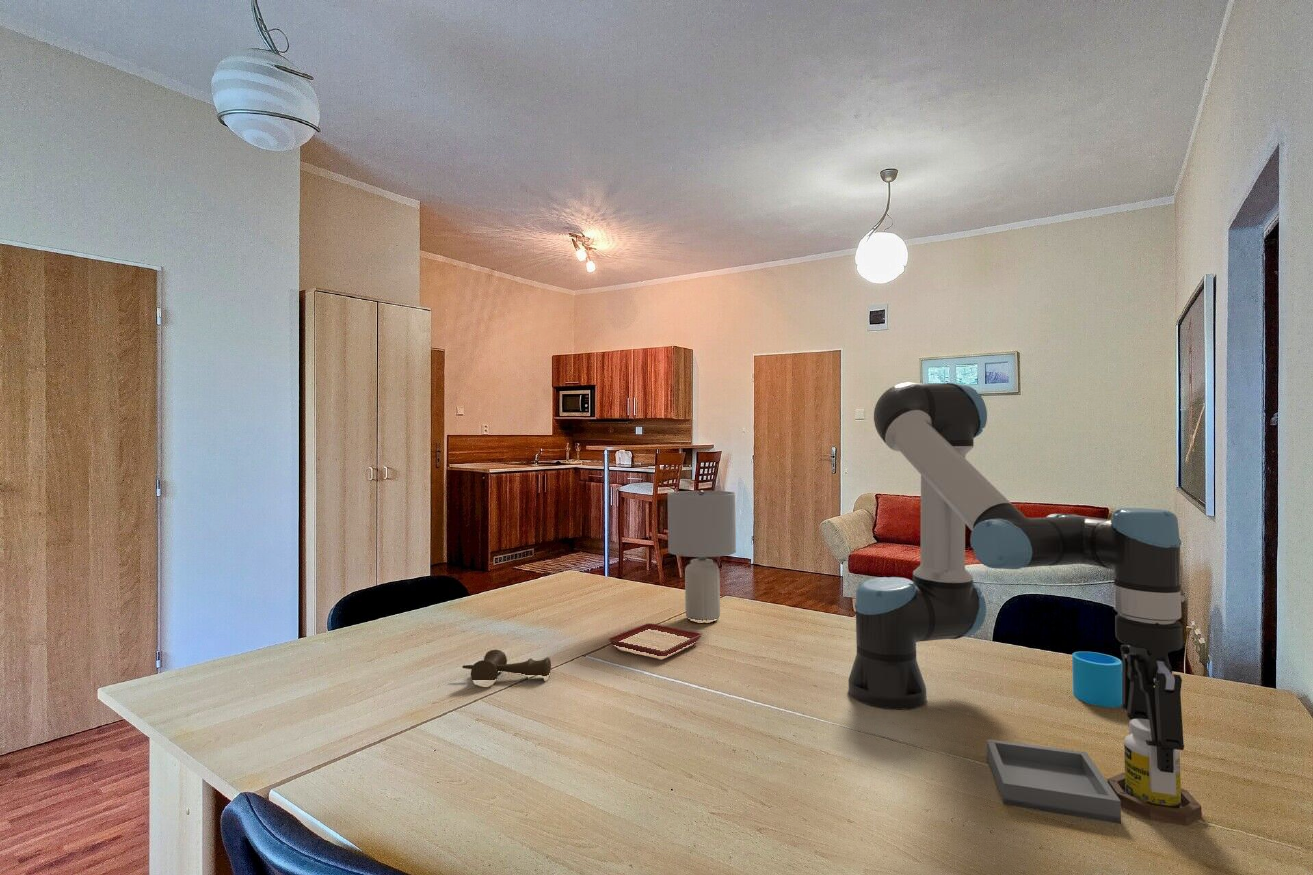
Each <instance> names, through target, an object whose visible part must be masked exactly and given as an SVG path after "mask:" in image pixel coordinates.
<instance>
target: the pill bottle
mask: <svg viewBox="0 0 1313 875" xmlns="http://www.w3.org/2000/svg"><path fill="white" fill-rule="evenodd" d="M1129 721H1130V730H1131V732H1132V734H1130V735H1129V734H1128V735H1127V736H1125V738H1124V745H1123V746H1124V773H1125V789H1124V790H1125V791H1124V792H1125V793H1126V794H1128V795H1130V796H1132V797H1135V798H1137V799H1139V800H1141V801H1144V802H1146V803H1148V804H1150V805H1156V806H1163V807H1169V808H1176V809H1180V808H1182V804H1181V788H1182V787H1181V780H1182V779H1181V755H1180V750H1177V749H1175V767H1176V795H1170V794H1164V793H1157V792H1152V791H1151V790H1150V775H1149V745H1147V743H1146V740H1150V741H1152V737H1151V730H1150V723H1149V720H1148V719H1132V720H1131V719H1130V720H1129Z"/></svg>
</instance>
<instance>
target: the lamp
mask: <svg viewBox="0 0 1313 875" xmlns="http://www.w3.org/2000/svg"><path fill="white" fill-rule="evenodd" d="M736 529H737V528H736V493H735V492H734V491H728V490H726V491H725V490H703V489H702V490H685V491H684V490H683V491H681V490H680V491H672V492H668V493H667V546H668V548H667V550H668V551H667V552H668V554H671V555H675V556H679V557H690V558H692V559H691V560H690V563H689V564H687V565H686V566H685V568H684V571H685V572H684V582H685V583H684V588H685V589H684V594H685V596H684V598H685V604H684V605H685V617H686V618H687V617H688V618H690V619H695V620H702V621H703V620H706V621H707V620H714V619H718V620H719V618H720V616H721V592H720V591H721V588H720V587H721V584H720V582H721V581H720V579H721V577H720V576H721V574H720V568H719V566H718V565H717V564H716V563H714V559H712V558H713V557H714V558H715V557H716V558H717V557H724V556H730V555H733V554H735V553H736V552H737V548H736V547H737V542H736V538H737V536H736V535H737V534H736V533H737V532H736Z"/></svg>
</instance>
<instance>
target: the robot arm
mask: <svg viewBox="0 0 1313 875" xmlns="http://www.w3.org/2000/svg"><path fill="white" fill-rule="evenodd" d="M987 421H988V410H987V406H986V402H985V401H984V399H983V397H982V395H981V394H980V393H978V391H977V390H976V389H975V388H973V387H972V386H969V385H967V384H963V383H961V384H960V383H954V382H950V383H949V382H946V383H943V382H941V383H938V382H935V383H934V382H933V383H932V382H931V383H930V382H929V383H927V382H917V383H915V382H902V383H897V384H896V385H893V386H892V387H889V388H888V389H886V390H885V391H884V392H883V393H882V394H881V395H880V396H879V398H878V400H877V401H876V404H875V406H874V410H873V422H874V427H875V429H876V431H877V434H878V436H879V437H880V439H881V440H882V441H883V442H884V443H885V445H886V446H887V447H888V448H889V449H891V451H895V452H900V453H901V454H902V456H903V457H904V458H905V459H906V460H907V461H908V462H909V463H910V464H911V465H912V466H913V468H915V470H916V471H917V472H918V473H919V474H920V565H919V566H917V567H916V569H914V570H912V580H911V579H909V578H906V577H899V576H890V577H887V576H883V577H875V578H870V579H867V580H865V581H863V582H861V583H859V585H858V586H857V587H856V593H855V603H854V609H855V635H856V636H855V637H856V655H855V657H854V661H853V664H852V667H851V671H850V672H849V677H848V693H849V694H850V695H851V696H852V697H853V698H854V699H856V700H857V701H859V702H862V703H864V704H867V705H870V706H874V707H877V708H883V709H891V710H908V709H909V710H911V709H915V708H919V707H921V706H923V705H924V704H926V703H927V698H928V697H927V687H926V684H925V681H924V678H923V675H922V672H921V669H920V666H919V663H918V661H917V660H918V659H917V643H919V642H930V641H938V640H939V641H940V640H958V639H962V638H966V637H970V636H973V635H974V634H976V633H978V631H979V630H980V629H982V626H983V625H984V624H985V620H986V616H987V603H986V600H985V599H986V598H985V597H984V596H982V594H983V591H981V590H982V589H981V588H979V586H978V585H976V584H975V583H974V577H973V575H972V574H971V573H970V572H969V571H968V570H967V569H966V526H967V527H968V529H969V530H970V531H971V533H970V547H971V548H972V549H973V551H974V553H973V554H974V556H975V558H976V559H977V561H979V563H980V564H982V565H983V566H984V567H988V568H991V569H997V570H998V569H999V570H1019V569H1022V568H1023V569H1025V568H1035V567H1037V568H1038V567H1048V566H1049V567H1054V566H1056V567H1057V566H1068V565H1088V566H1094V567H1098V568H1099V567H1100V568H1104V569H1108V570H1109V569H1110V570H1113V609H1114V610H1115V611H1116V612H1117V613H1116V615H1115V617H1114V624H1115V626H1114V627H1115V630H1114V632H1115V638H1116V640H1117V641H1118V642H1119V643H1122V644H1121V645H1120V653H1121V661H1122V705H1121V707H1122V709H1123V710H1124V711H1126V716H1127V718H1128V728H1129V729H1128V735H1130V734H1132V732H1131V730H1130V721H1131V720H1132V719H1148V720H1149V723H1150V730H1151V737H1152V741H1150V740H1146V743H1147V745H1149V775H1150V790H1151V791H1152V792H1157V793H1164V794H1170V795H1176V767H1175V749H1177V750H1178V751H1184V749H1185V744H1184V730H1183V729H1184V728H1183V727H1184V725H1183V716H1182V715H1183V712H1182V699H1181V696H1182V695H1181V693H1182V684H1183V680H1182V676H1181V675H1179V674H1173V667H1172V664H1171V662H1170V660H1169V656H1168V655H1169V653H1171V652H1177V651H1180V650H1181V649H1183V646H1184V644H1183V643H1184V642H1183V638H1184V636H1183V624H1182V623H1181V621H1179V620H1180V619H1181V618H1182V603H1184V602H1185V599H1186V597H1185V596H1184V595H1183V594H1182V592H1181V589H1182V588H1181V582H1180V581H1181V576H1180V575H1181V572H1180V571H1181V568H1180V566H1181V546H1182V540H1181V539H1180V538H1181V537H1180V531H1179V528H1180V527H1179V520H1178V517H1177V515H1176V514H1175V513H1174V512H1172V511H1169V510H1166V509H1160V508H1159V509H1158V508H1144V507H1143V508H1142V507H1119V508H1116V509H1114V510H1113V512H1112V513H1111V514H1112V517H1111V519H1108V518H1100V517H1099V518H1098V517H1092V516H1085V515H1078V514H1076V513H1075V514H1074V513H1052V514H1049V515H1047V516H1045V517H1028V516H1027V517H1026V516H1025V514H1024V513H1022V512H1021V511H1020V510H1019V509H1018V508H1017V507H1016V506H1015V505H1013V503H1011V501H1010V500H1008V499H1007V498H1006V496H1004V495H1003V493H1001V491H999V490H998V488H996V486H994V485H993V484H992V483H991V482H990V481H989V480H988V479H987V478H986V477H985V476H984V475H983V474H982V473H981V472H980V471H979V470H978V469H977V468H976V467H975V466H973V464H972V463H970V461H969V460H967V459H966V455H967V454H968V453H969V452H970V451H972V449H973V448H974V446H975V444H974V442H975V441H974V438H977V437H978V436H980V435H981V434H982V433H983V429H985V427H986V426H987Z"/></svg>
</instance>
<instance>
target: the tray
mask: <svg viewBox="0 0 1313 875" xmlns="http://www.w3.org/2000/svg"><path fill="white" fill-rule="evenodd" d="M985 742H986V743H985V744H986V759H987V762H988V765H989V768H990V770H991V772H992V776H993V779H994V781H995V783H996V787H997V790H998V793H999V794H1000V798H1001V799H1002V800H1001V801H1002V803H1003V805H1005V806H1012V807H1019V808H1024V809H1029V810H1030V809H1031V810H1036V811H1042V812H1049V813H1055V814H1061V815H1066V816H1073V817H1080V818H1086V819H1091V820H1098V821H1101V822H1102V821H1104V822H1109V823H1115V824H1121V825H1122V806H1121V801H1120V800H1119V798H1118V797H1117V795H1116V794H1115V792H1114V791H1113V790H1112V788H1111V787H1110V785H1109V784H1108V782H1107V779H1106V778H1105V776H1104V775H1103V774H1102V772H1101V771H1100V770H1099V768H1098V767H1097V765H1096V764H1095V763H1094V760H1093V759H1092V758H1091V757H1090V755H1089V753H1088V752H1086V751H1079V750H1073V749H1066V748H1065V749H1064V748H1057V747H1050V746H1044V745H1043V746H1041V745H1035V744H1034V745H1033V744H1027V743H1019V742H1011V741H1004V740H998V739H997V740H996V739H990V738H986V740H985Z"/></svg>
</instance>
